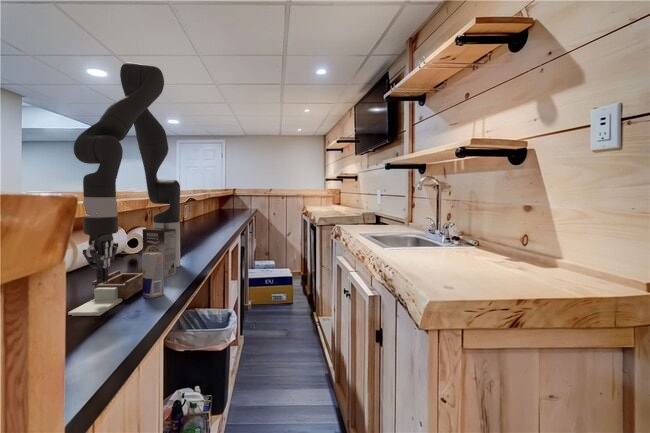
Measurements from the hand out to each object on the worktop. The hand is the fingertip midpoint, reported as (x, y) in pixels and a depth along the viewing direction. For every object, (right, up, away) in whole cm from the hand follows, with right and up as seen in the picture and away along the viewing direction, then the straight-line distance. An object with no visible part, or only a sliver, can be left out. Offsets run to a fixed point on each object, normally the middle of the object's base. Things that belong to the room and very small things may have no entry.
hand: (102, 281), depth 93 cm
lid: (0, -7, -3) cm, 7 cm away
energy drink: (+9, -6, +9) cm, 14 cm away
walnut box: (-1, -5, +11) cm, 12 cm away
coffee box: (0, -4, +33) cm, 33 cm away
